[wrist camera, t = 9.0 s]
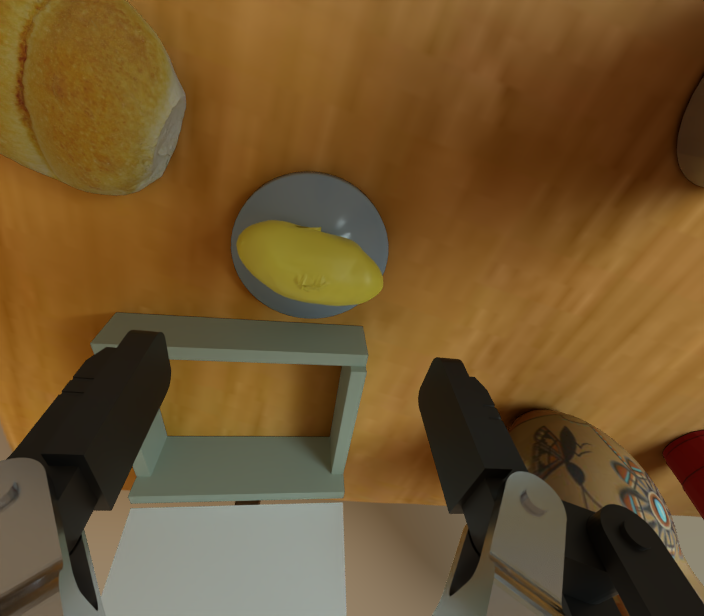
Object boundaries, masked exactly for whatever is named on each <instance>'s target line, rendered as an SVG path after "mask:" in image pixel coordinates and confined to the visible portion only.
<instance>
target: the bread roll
mask: <svg viewBox="0 0 704 616" xmlns="http://www.w3.org/2000/svg"><path fill="white" fill-rule="evenodd" d="M185 109H186V96H185V92H184V90H183V88H182V86H181V84H180V82H179V80H178V78H177V76H176V74H175V72H174V69H173V66H172V63H171V60H170V58H169V56H168V54H167V52H166V50H165V48H164V46H163V44H162V43H161V41H160V39H159V37H158V36H157V34H156V33H155V32H154V31H153V29H152V28H151V27H150V26H149V25H148V24H147V23H146V21H145V20H144V19H143V18H142V17H141V16H140V14H139V13H138V12H137V11H136V10H135V9H134V8H133V7H132V6H131V5H130V4H129V3H128V2H127V1H125V0H0V154H2V155H4V156H5V157H7V158H10V159H12V160H14V161H15V162H17V163H19V164H20V165H22V166H25V167H27V168H30V169H32V170H34V171H37V172H39V173H42V174H44V175H46V176H49V177H52V178H54V179H57V180H59V181H61V182H64V183H66V184H68V185H70V186H72V187H74V188H76V189H79V190H83V191H85V192H90V193H96V194H103V195H127V194H130V193H135V192H138V191H140V190H141V189H143V188H145V187H146V186H148V185H149V184H151V183H152V182H154V181H155V180H157V179H158V178H160V177H161V176H162V175H163V172H164V171H165V169H166V167H167V165H168V163H169V160H170V158H171V156H172V154H173V152H174V150H175V147H176V144H177V141H178V136H179V133H180V131H181V125H182V119H183V117H184V112H185Z"/></svg>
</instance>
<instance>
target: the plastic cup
mask: <svg viewBox="0 0 704 616" xmlns="http://www.w3.org/2000/svg"><path fill="white" fill-rule="evenodd" d="M663 457H664V458H665V460H666V463H667V465H668V466H669V467H670V469H671V470H672V472H673V473H674V475H675V476H676V477H677V479H678V480H679V482H680V483H681V485H682V487H683V489H684V491H685V492H686V494H687V495H688V497H689V498H690V500H691V501H692V503H693V504H694V506H695V507H696V509H697V510H698V512H699V513H700V515H701V516H702V518H703V519H704V430H701V431H696V432H692V433H689V434H687V435H684V436H682V437H680V438H678V439H676V440H675V441H673V442H672V443H670V444H669V445H668V446H667V447H666V448H665V449H664V451H663Z"/></svg>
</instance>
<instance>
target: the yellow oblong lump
mask: <svg viewBox="0 0 704 616" xmlns="http://www.w3.org/2000/svg"><path fill="white" fill-rule="evenodd" d="M236 246H237V251H238V255H239V257H240V259H241V261H242V263H243V264H244V265H245V267H246V268H247V269H248V270H249V271H250V273H251V274H252V275H253V276H255V277H256V278H257V279H258V280H259V281H261V282H262V283H263V284H265V285H266V286H267V287H269V288H270V289H271V290H273V291H274V292H276V293H278V294H280V295H282V296H284V297H287V298H290V299H293V300H297V301H301V302H306V303H314V304H321V305H330V306H347V305H356V304H361V303H364V302H366V301H368V300H370V299H372V298H373V297H375V296H376V295H377V294H378V293H379V292H380V291H381V290H382V288H383V277H382V274H381V271H380V269H379V267H378V266H377V264H376V263H375V262H374V261H373V260H372V259H371V258H370V257H369V256H368V255H367V254H366V253H365V252H364V251H363V250H362V249H361V247H360V246H359V245H358V244H357V243H355V242H354V241H352V240H350V239H347V238H344V237H341V236H337V235H333V234H328V233H324V232H321V227H312V228H311V227H304V226H299V225H296V224H293V223H290V222H285V221H279V220H267V221H263V222H259V223H256V224H253V225H251V226H249V227H247V228H246V229H244V230H243V231H242V233H241V234H240V235H239V237H238V240H237V243H236Z"/></svg>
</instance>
